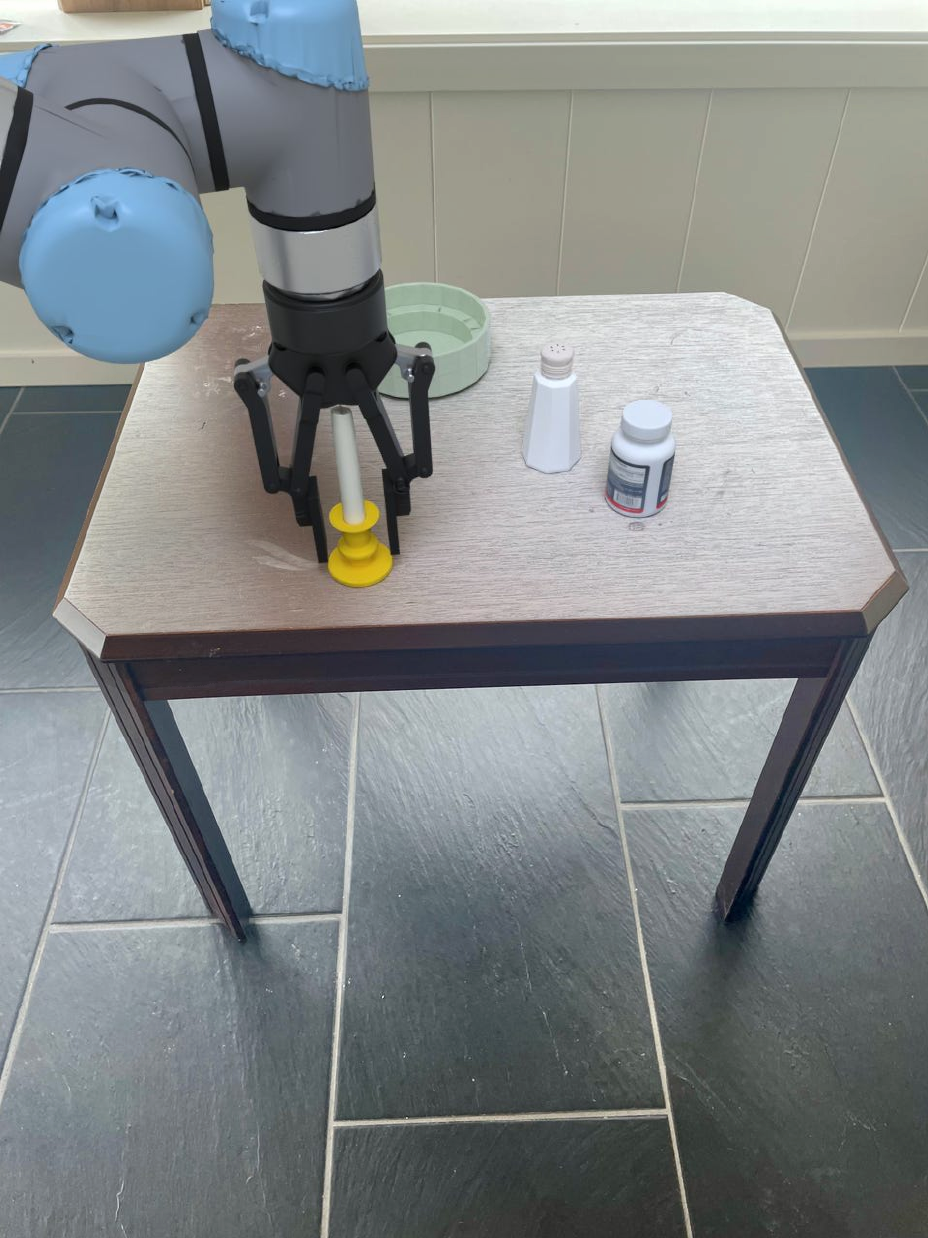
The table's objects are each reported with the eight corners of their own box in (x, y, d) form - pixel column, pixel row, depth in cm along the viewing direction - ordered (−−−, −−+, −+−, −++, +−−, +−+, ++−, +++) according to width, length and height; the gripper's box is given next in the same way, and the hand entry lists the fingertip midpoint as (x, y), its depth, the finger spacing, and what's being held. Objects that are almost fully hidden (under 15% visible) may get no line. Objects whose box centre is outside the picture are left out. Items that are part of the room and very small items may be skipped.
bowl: (356, 409, 92) (350, 363, 89) (347, 331, 102) (342, 287, 98) (500, 395, 94) (500, 350, 90) (478, 320, 103) (478, 276, 99)
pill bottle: (650, 474, 85) (663, 388, 79) (677, 511, 82) (693, 424, 75) (594, 487, 84) (604, 401, 78) (619, 524, 81) (632, 438, 74)
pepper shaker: (556, 430, 90) (563, 323, 82) (593, 460, 87) (604, 352, 78) (508, 451, 88) (511, 343, 80) (544, 482, 85) (551, 374, 76)
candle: (354, 534, 80) (333, 373, 69) (405, 557, 78) (392, 396, 67) (315, 572, 77) (286, 410, 66) (367, 597, 75) (346, 434, 64)
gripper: (458, 231, 63) (464, 504, 80) (177, 254, 61) (244, 527, 78) (475, 289, 58) (477, 567, 75) (169, 315, 56) (243, 593, 73)
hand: (358, 546), depth 76 cm, fingers open, 5 cm apart
